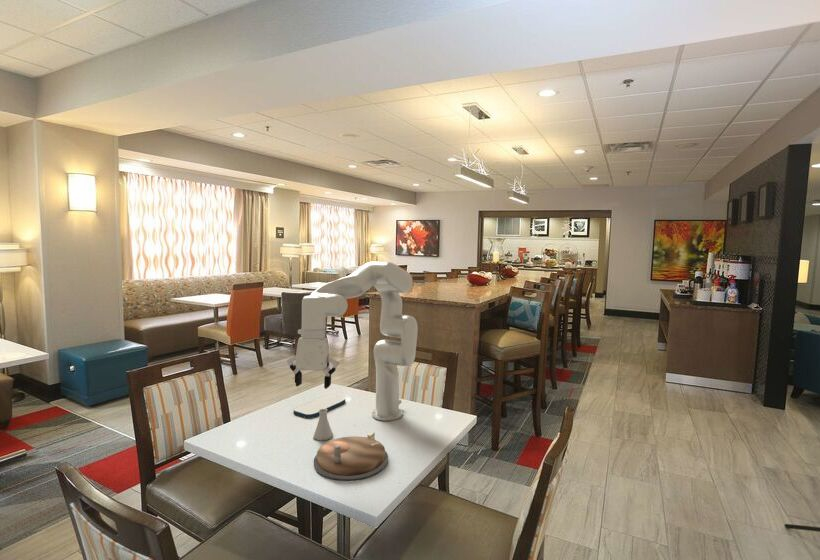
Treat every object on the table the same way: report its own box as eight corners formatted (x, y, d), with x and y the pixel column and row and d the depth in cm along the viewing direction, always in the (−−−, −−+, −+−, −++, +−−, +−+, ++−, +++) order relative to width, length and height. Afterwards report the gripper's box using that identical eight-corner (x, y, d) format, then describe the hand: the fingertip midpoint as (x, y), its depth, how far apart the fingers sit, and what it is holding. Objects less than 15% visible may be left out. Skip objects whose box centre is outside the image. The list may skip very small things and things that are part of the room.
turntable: (341, 437, 155) (341, 418, 154) (396, 449, 146) (396, 429, 145) (302, 465, 135) (302, 443, 134) (363, 481, 126) (363, 458, 125)
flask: (328, 442, 154) (328, 414, 153) (309, 440, 155) (309, 413, 155) (336, 433, 161) (336, 407, 160) (317, 431, 163) (317, 405, 162)
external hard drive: (310, 420, 174) (310, 415, 173) (290, 414, 180) (290, 409, 179) (348, 402, 193) (348, 398, 193) (329, 397, 200) (329, 393, 199)
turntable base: (344, 436, 159) (344, 425, 158) (403, 449, 149) (403, 438, 148) (297, 470, 134) (297, 457, 134) (364, 488, 125) (364, 475, 124)
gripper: (283, 334, 136) (282, 387, 137) (335, 337, 133) (334, 392, 134) (293, 330, 144) (292, 381, 145) (343, 333, 141) (342, 385, 142)
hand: (312, 386), depth 139 cm, fingers open, 9 cm apart
